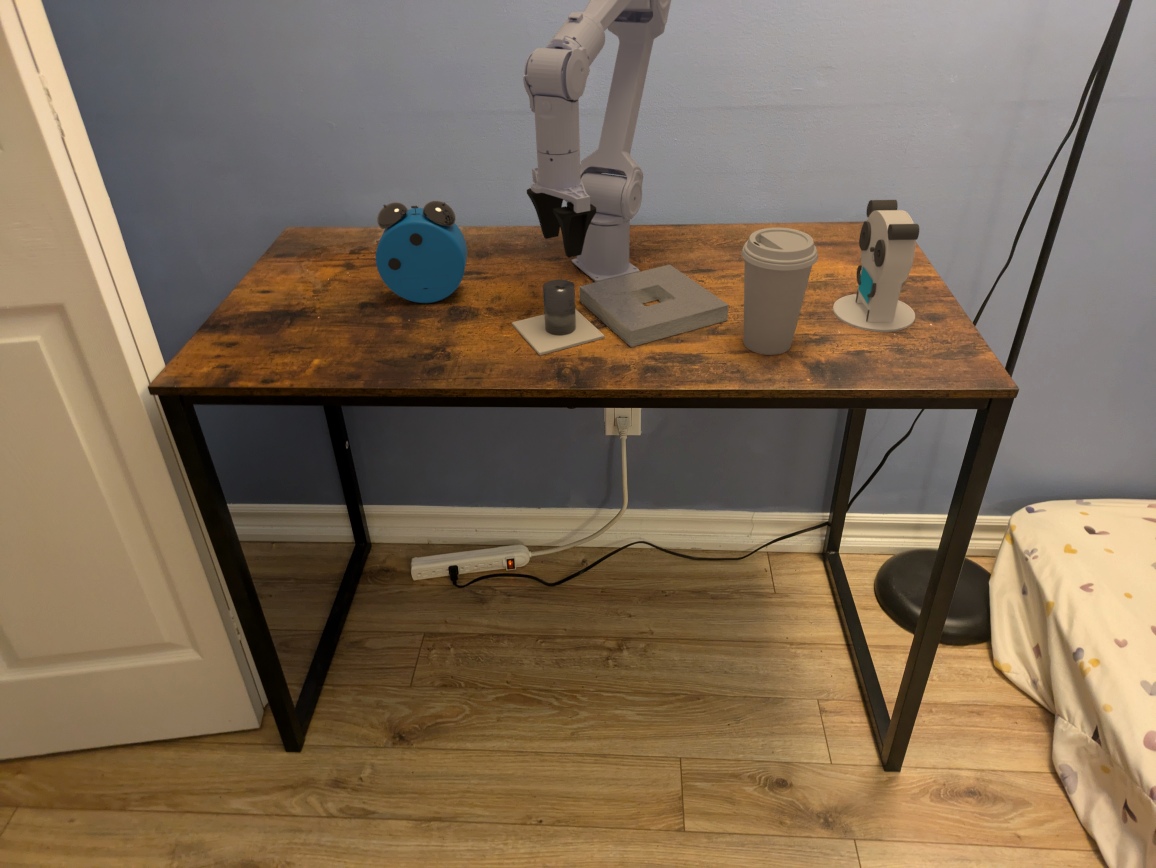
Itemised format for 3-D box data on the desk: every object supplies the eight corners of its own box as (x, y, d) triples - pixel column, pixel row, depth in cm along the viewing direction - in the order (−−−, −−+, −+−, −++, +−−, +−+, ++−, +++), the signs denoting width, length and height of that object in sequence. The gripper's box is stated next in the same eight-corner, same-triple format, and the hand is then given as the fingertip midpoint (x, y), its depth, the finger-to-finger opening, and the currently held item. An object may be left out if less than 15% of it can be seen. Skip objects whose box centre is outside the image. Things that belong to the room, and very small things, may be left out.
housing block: (579, 301, 117) (579, 286, 115) (669, 279, 122) (669, 264, 121) (630, 347, 105) (631, 331, 104) (727, 320, 111) (728, 304, 109)
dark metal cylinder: (540, 324, 110) (538, 283, 106) (568, 318, 112) (566, 277, 108) (552, 338, 107) (550, 295, 103) (580, 331, 108) (579, 289, 105)
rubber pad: (512, 324, 111) (511, 322, 111) (573, 309, 115) (573, 306, 114) (539, 355, 104) (539, 353, 104) (604, 338, 107) (604, 335, 107)
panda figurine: (824, 294, 117) (841, 197, 108) (899, 293, 116) (923, 195, 107) (843, 332, 107) (864, 229, 98) (925, 331, 107) (954, 228, 98)
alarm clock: (472, 286, 122) (460, 193, 113) (469, 303, 117) (457, 208, 108) (390, 289, 122) (372, 197, 113) (383, 307, 117) (364, 212, 108)
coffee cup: (727, 326, 109) (737, 225, 100) (795, 326, 109) (811, 224, 100) (736, 361, 101) (748, 255, 93) (809, 360, 101) (828, 254, 92)
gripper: (509, 139, 105) (517, 234, 113) (553, 168, 95) (558, 270, 103) (556, 132, 107) (560, 225, 116) (604, 159, 97) (604, 259, 105)
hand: (562, 245), depth 109 cm, fingers open, 7 cm apart
